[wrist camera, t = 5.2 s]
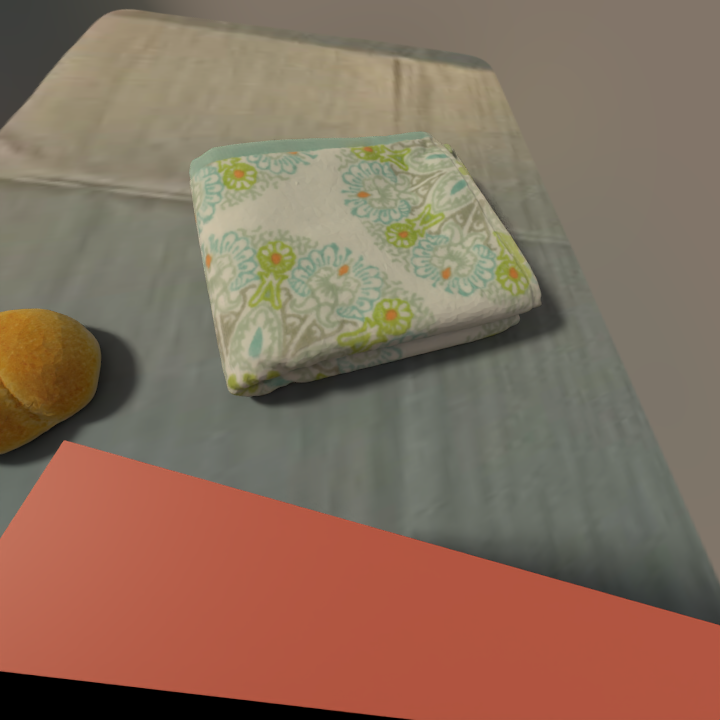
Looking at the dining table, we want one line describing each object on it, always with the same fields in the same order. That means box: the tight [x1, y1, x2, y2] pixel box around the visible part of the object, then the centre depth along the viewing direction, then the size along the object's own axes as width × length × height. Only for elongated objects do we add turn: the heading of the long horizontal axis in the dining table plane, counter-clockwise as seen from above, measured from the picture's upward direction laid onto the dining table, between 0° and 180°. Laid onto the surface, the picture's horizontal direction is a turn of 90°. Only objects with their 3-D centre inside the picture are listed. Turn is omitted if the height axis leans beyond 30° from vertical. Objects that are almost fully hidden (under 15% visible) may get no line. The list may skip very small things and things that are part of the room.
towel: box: [189, 132, 542, 397], centre depth 26 cm, size 18×21×5 cm
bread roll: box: [0, 309, 101, 454], centre depth 20 cm, size 8×9×4 cm
